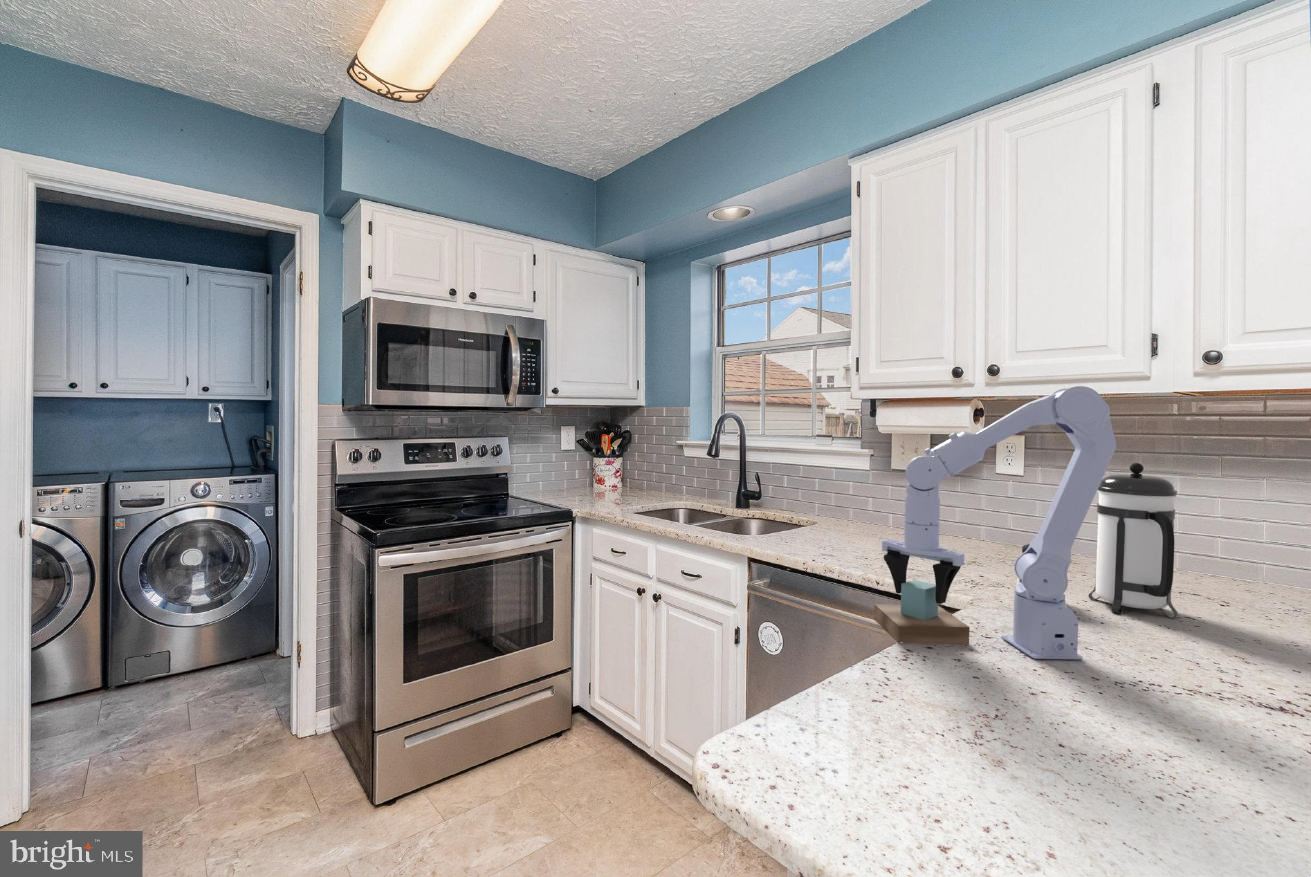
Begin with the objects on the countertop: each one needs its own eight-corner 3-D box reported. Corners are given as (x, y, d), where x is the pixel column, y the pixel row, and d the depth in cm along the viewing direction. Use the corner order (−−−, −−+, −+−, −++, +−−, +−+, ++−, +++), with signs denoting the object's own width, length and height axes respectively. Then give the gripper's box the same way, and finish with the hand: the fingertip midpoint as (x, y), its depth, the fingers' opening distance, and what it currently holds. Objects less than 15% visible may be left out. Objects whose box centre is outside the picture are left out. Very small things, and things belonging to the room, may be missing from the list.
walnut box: (968, 647, 103) (969, 627, 103) (898, 646, 103) (898, 625, 103) (937, 623, 115) (937, 605, 115) (874, 622, 115) (874, 604, 115)
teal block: (937, 615, 109) (938, 585, 108) (924, 620, 106) (925, 589, 106) (914, 609, 112) (914, 579, 112) (900, 613, 110) (901, 583, 109)
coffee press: (1068, 603, 126) (1073, 461, 125) (1109, 593, 134) (1114, 459, 133) (1168, 630, 111) (1175, 468, 110) (1209, 617, 118) (1215, 465, 117)
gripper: (973, 526, 105) (971, 603, 105) (897, 515, 116) (895, 584, 117) (953, 530, 101) (951, 611, 101) (876, 518, 112) (874, 590, 113)
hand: (920, 597), depth 109 cm, fingers open, 7 cm apart
